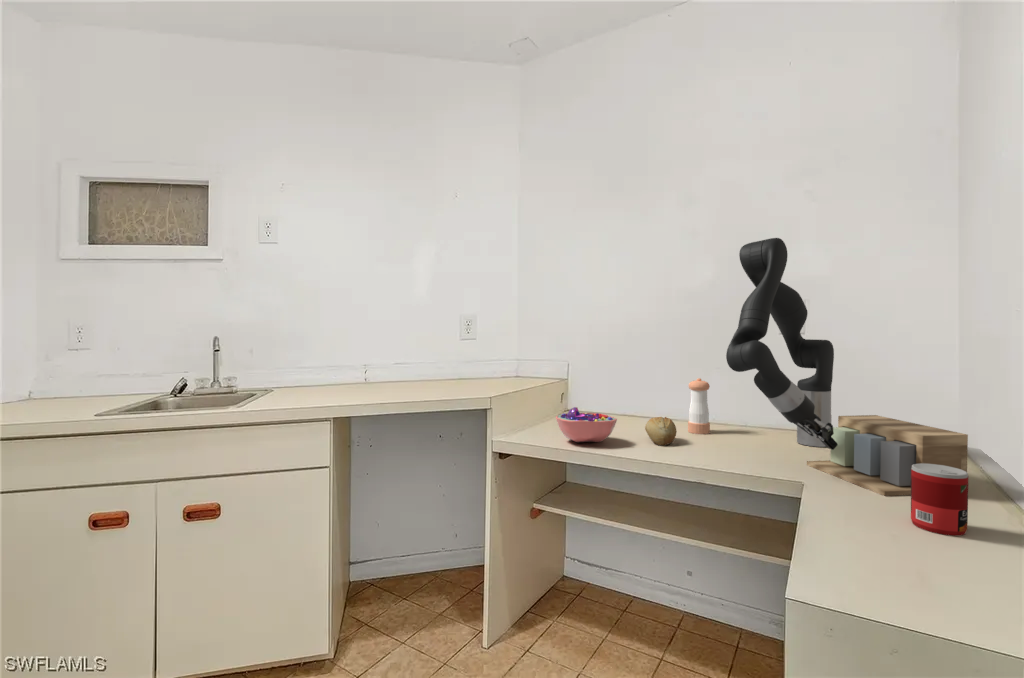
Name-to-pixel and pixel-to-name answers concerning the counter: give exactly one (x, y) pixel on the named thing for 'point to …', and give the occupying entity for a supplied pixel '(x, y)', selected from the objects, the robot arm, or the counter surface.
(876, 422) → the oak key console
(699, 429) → the salt shaker
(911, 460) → the charcoal key
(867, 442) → the blue-grey key
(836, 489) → the counter surface
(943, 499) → the canned food
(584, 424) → the cell model
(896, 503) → the counter surface
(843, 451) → the sage key
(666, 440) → the bread roll
